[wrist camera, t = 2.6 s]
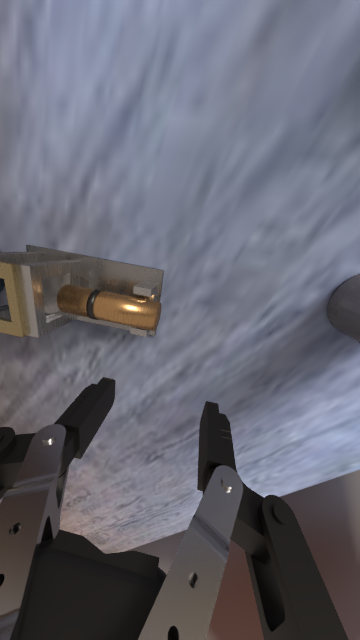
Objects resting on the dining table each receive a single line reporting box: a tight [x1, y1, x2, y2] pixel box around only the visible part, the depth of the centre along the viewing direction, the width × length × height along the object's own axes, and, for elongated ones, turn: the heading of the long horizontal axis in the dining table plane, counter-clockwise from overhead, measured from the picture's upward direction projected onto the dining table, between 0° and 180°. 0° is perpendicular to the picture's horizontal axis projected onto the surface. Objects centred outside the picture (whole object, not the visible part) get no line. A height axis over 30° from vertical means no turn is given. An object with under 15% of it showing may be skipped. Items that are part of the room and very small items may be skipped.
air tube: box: [57, 284, 161, 331], centre depth 26 cm, size 13×4×4 cm, turn 81°
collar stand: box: [0, 245, 164, 338], centre depth 26 cm, size 22×11×10 cm, turn 81°
